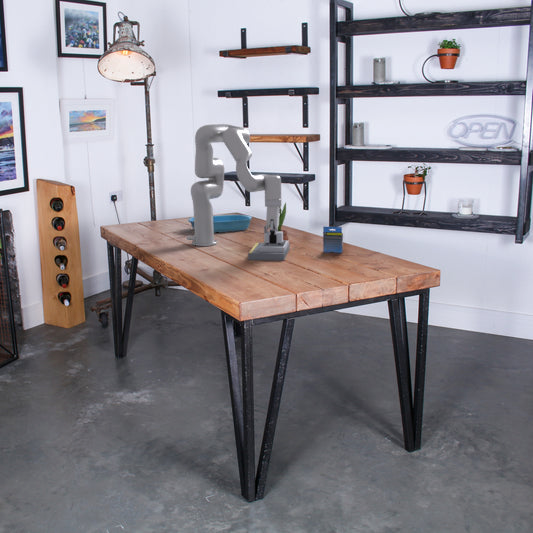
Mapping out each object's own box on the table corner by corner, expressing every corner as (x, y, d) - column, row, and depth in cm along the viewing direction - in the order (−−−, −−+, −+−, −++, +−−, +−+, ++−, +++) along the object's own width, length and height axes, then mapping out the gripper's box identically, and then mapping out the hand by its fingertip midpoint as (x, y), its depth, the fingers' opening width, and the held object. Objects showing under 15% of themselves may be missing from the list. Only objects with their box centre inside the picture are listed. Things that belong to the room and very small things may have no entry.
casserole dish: (244, 224, 379) (244, 212, 377) (258, 230, 358) (258, 217, 357) (183, 229, 365) (183, 217, 364) (194, 236, 345) (193, 223, 343)
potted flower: (261, 243, 322) (260, 193, 317) (271, 239, 331) (270, 191, 325) (283, 245, 317) (282, 194, 311) (291, 241, 326) (291, 192, 320)
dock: (248, 259, 287) (248, 249, 285) (256, 248, 310) (256, 238, 308) (283, 260, 284) (283, 249, 283) (289, 249, 307) (289, 238, 306)
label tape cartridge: (343, 251, 300) (343, 225, 297) (341, 253, 297) (342, 227, 294) (324, 250, 303) (324, 224, 300) (322, 252, 299) (323, 226, 296)
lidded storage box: (264, 245, 294) (264, 226, 292) (266, 242, 298) (265, 224, 297) (281, 245, 293) (281, 226, 291) (283, 243, 297) (282, 224, 295)
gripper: (267, 200, 300) (268, 238, 304) (262, 205, 283) (263, 246, 288) (283, 200, 299) (284, 238, 303) (279, 205, 282) (279, 246, 287)
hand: (273, 241), depth 295 cm, fingers closed on lidded storage box, 5 cm apart
